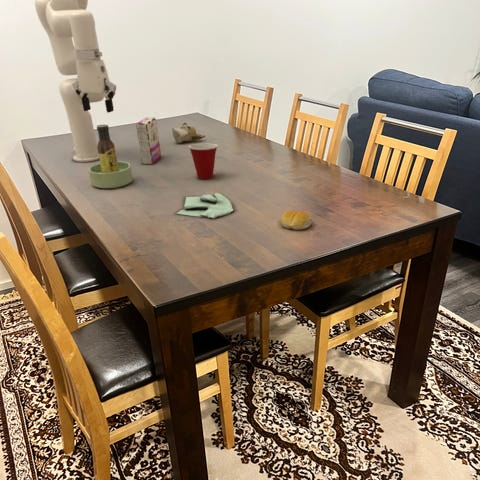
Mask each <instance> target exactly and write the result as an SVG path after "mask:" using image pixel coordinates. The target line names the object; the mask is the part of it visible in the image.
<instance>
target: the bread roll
mask: <svg viewBox="0 0 480 480" xmlns="http://www.w3.org/2000/svg"><path fill="white" fill-rule="evenodd" d="M312 222H313V219H312V217H311V215H310V214H308V213H307V212H305V211H299V212H298V211H296V210H288V211H286V212H284V213H283V214H282V215H281V218H280V223H281V226H283V227H284V228H286V229H290V230H291V229H292V230H295V231H300V230H301V231H302V230H305V229H308V228H309V227H310V226H311V225H312Z"/></svg>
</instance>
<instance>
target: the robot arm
mask: <svg viewBox="0 0 480 480" xmlns="http://www.w3.org/2000/svg"><path fill="white" fill-rule="evenodd" d="M88 2H89V0H35V1H34V8H35V12H36V14H37V17H38V20H39V22H40V25H42V28H43V29H44V31H45V33H46V35H47V36H48V39H49V43H50V46H51V49H52V54H53V58H54V61H55V65H56V68H57V71H58V72H59V73H60V75H62V76H77V77H75V78H68V79H65V80H62V81H61V82H60V83H59V86H58V90H59V94H60V97H61V100H62V103H63V105H64V109H65V111H66V116H67V120H68V124H69V125H68V126H69V128H70V133H71V137H72V138H71V139H72V141H73V146H74V147H73V148H72V151H73V152H75V155H73V157H72V158H73V161H75V162H79V163H87V162H94V161H98V160H99V154H98V147H97V145H98V142H97V139H96V133H95V129H94V123H93V118H92V115H91V112H90V110H91V109H92V108H91V103H92V104H93V103H98V102H102V101H103V100H104V99H105V100H104V105H105V110H106V113H108V114H109V113H112V112H114V102H113V99H114V96H115V95H116V91H117V85H116V84H115V83H113V82H111V81H110V78H109V74H108V73H109V72H108V70H107V67H106V64H105V61H104V60H103V59H101V57H103V52H102V51H100V47H99V41H98V36H97V29H96V22H95V18H94V14H93V13H92V12H90V11H89V10H87V7H88V5H89V3H88Z"/></svg>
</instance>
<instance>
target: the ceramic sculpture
mask: <svg viewBox="0 0 480 480" xmlns="http://www.w3.org/2000/svg"><path fill="white" fill-rule="evenodd" d="M171 130H172V131H171V132H172V137H173V139H174V141H175V143H177V144H182V143H183V142H185V143H186V142H193V141H199V140H203V139H204V138H205V137H206V135H202V134H200V133H197V130H196V128H195V127H194V126H193V125H190V124H187V123H186V122H184V123H182V124H181V125H180V127H179V128H175V127H172V128H171Z"/></svg>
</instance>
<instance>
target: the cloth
mask: <svg viewBox="0 0 480 480" xmlns="http://www.w3.org/2000/svg"><path fill="white" fill-rule="evenodd" d="M183 207H184V208H182V209H181V210H179V211H178V212H176V214H177V215H182V216H183V215H184V216H189V217H196V218H211V219H212V220H214V219H216V218H220V217H222V216H227V215H229V214H231V213H232V212H234V211H235V210H234V209H233V205H232V202H231V201H230V199H228V198H227V197H226V196H224V194H221V193H219V192H215V193H214V196H213V195H211V194H206V193H204V194H202V195H200V196H186V197H185V201H184V205H183Z"/></svg>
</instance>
